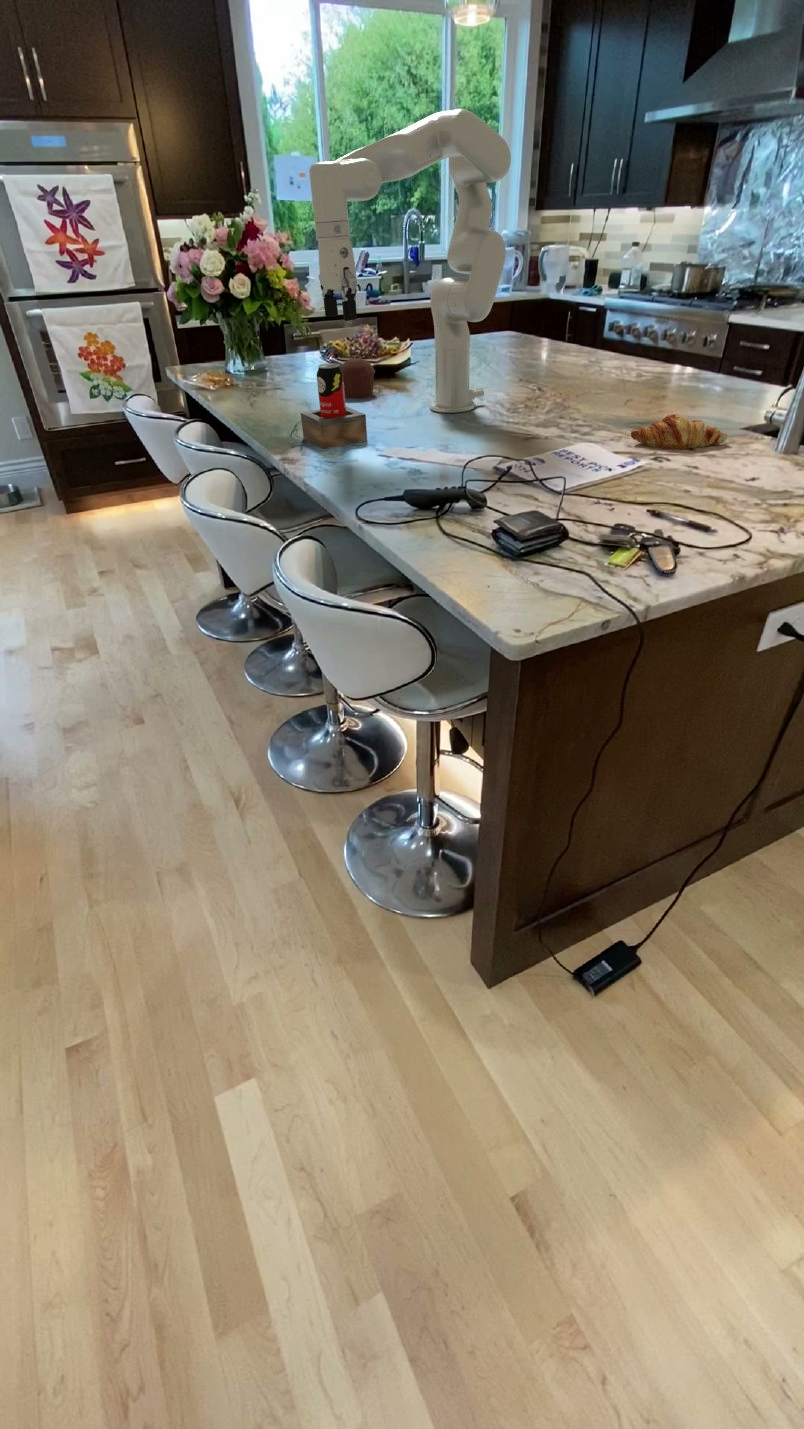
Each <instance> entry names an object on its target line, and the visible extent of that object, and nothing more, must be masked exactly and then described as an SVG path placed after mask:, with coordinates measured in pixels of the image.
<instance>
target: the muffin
mask: <svg viewBox="0 0 804 1429" xmlns="http://www.w3.org/2000/svg"><path fill="white" fill-rule="evenodd" d="M340 369H341V370H342V372H343V380H344V392H345V398H347V399H348V398H350V399H364V398H368V397H371V396H373V394H374V393H373V392H374V384H375V381H374V380H375V373H376V370H375V368H374V366H373V365H372V364H371V363H370V362H369V361H367V360H366V359H364V358H360V357H355V358H349V359H347V360H346V361H345V362H343V363H342V364H341V365H340Z"/></svg>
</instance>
